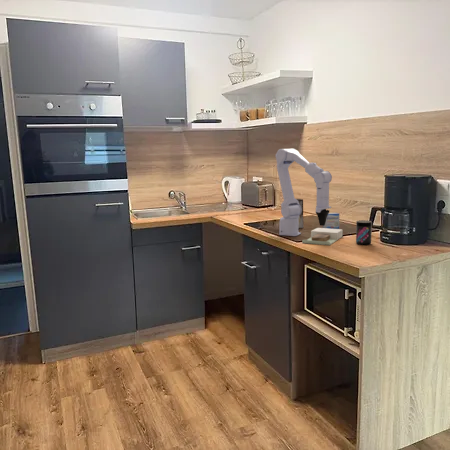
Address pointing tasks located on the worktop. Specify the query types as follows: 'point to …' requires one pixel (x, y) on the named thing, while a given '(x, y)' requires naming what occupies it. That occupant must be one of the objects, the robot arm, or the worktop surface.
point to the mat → (328, 242)
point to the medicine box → (332, 221)
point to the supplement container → (363, 232)
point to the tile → (321, 237)
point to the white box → (328, 232)
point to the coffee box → (301, 213)
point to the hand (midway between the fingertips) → (322, 225)
